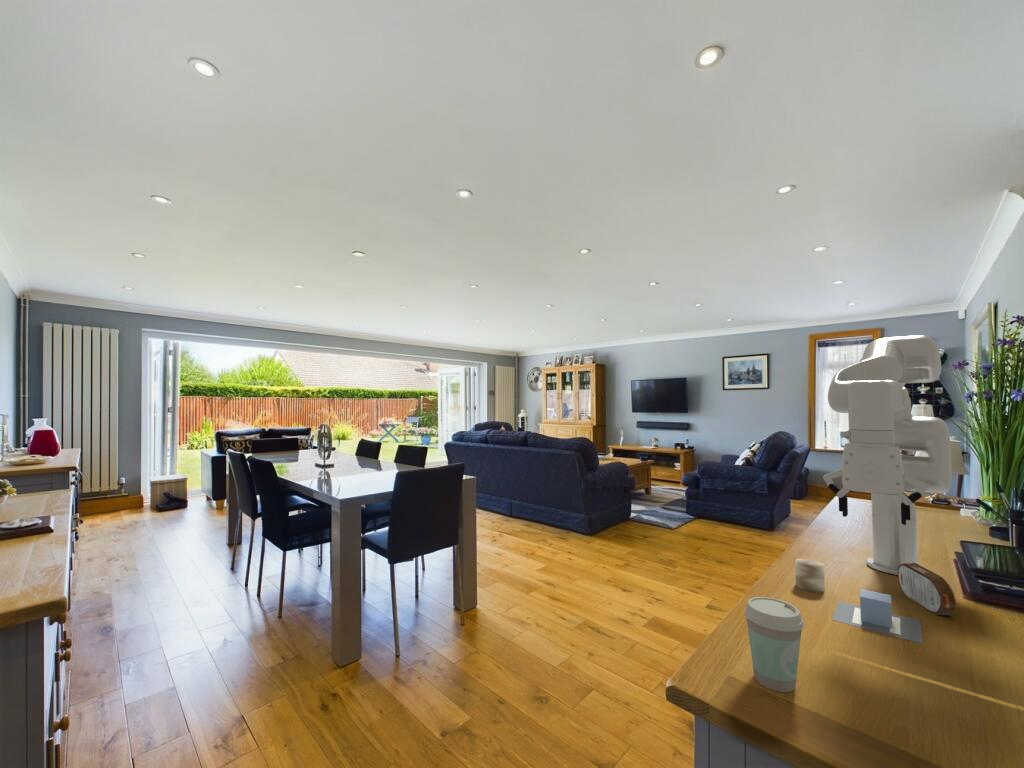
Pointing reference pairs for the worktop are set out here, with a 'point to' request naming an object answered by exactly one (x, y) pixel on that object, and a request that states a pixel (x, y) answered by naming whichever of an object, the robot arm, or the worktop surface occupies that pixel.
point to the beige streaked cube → (809, 575)
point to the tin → (926, 589)
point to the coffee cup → (774, 641)
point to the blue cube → (876, 608)
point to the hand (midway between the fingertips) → (873, 519)
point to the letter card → (900, 625)
